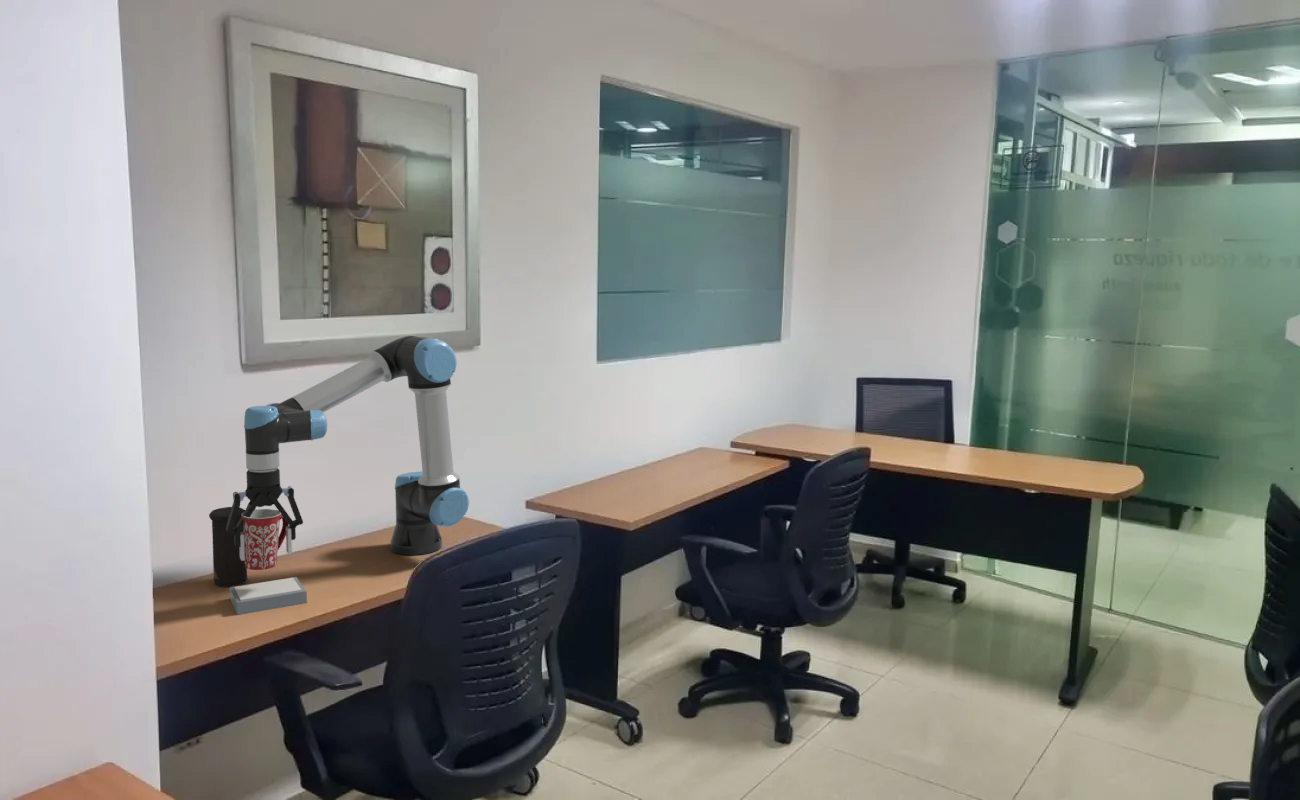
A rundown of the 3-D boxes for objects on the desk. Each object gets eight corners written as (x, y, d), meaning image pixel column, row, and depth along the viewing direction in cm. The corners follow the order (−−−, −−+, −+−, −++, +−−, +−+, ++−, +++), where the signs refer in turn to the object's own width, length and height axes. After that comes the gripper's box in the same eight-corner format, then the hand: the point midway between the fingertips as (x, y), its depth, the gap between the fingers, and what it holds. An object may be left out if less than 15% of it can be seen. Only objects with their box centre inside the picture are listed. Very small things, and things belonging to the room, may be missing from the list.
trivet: (296, 587, 233) (296, 575, 232) (306, 602, 223) (306, 590, 222) (230, 598, 224) (229, 586, 223) (237, 614, 214) (236, 601, 213)
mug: (257, 574, 214) (258, 519, 213) (232, 566, 219) (233, 513, 217) (299, 561, 226) (300, 510, 224) (274, 555, 230) (275, 504, 228)
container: (235, 573, 242) (232, 502, 239) (256, 580, 237) (253, 508, 234) (205, 583, 234) (201, 509, 231) (226, 590, 230) (222, 515, 227)
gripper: (308, 461, 228) (310, 545, 231) (209, 470, 215) (213, 558, 218) (314, 467, 221) (316, 553, 224) (214, 476, 209) (218, 567, 212)
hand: (266, 555), depth 221 cm, fingers closed on mug, 10 cm apart
